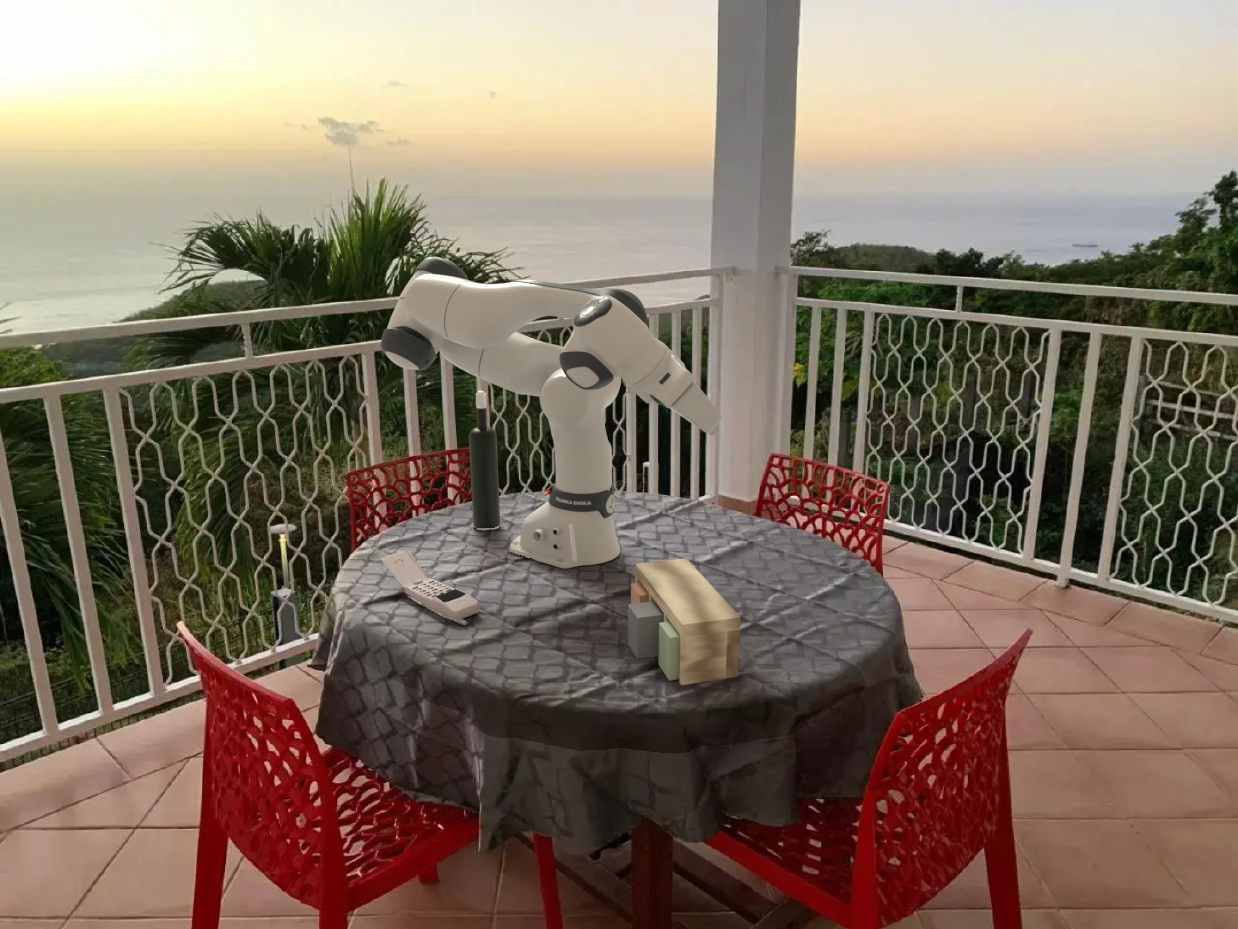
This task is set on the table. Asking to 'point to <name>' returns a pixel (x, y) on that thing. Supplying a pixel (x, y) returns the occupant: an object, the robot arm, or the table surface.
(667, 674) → the sage key
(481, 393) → the wine bottle
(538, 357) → the robot arm
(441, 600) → the mobile phone
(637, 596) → the terracotta key
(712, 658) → the key console
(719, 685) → the table surface
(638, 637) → the slate key
